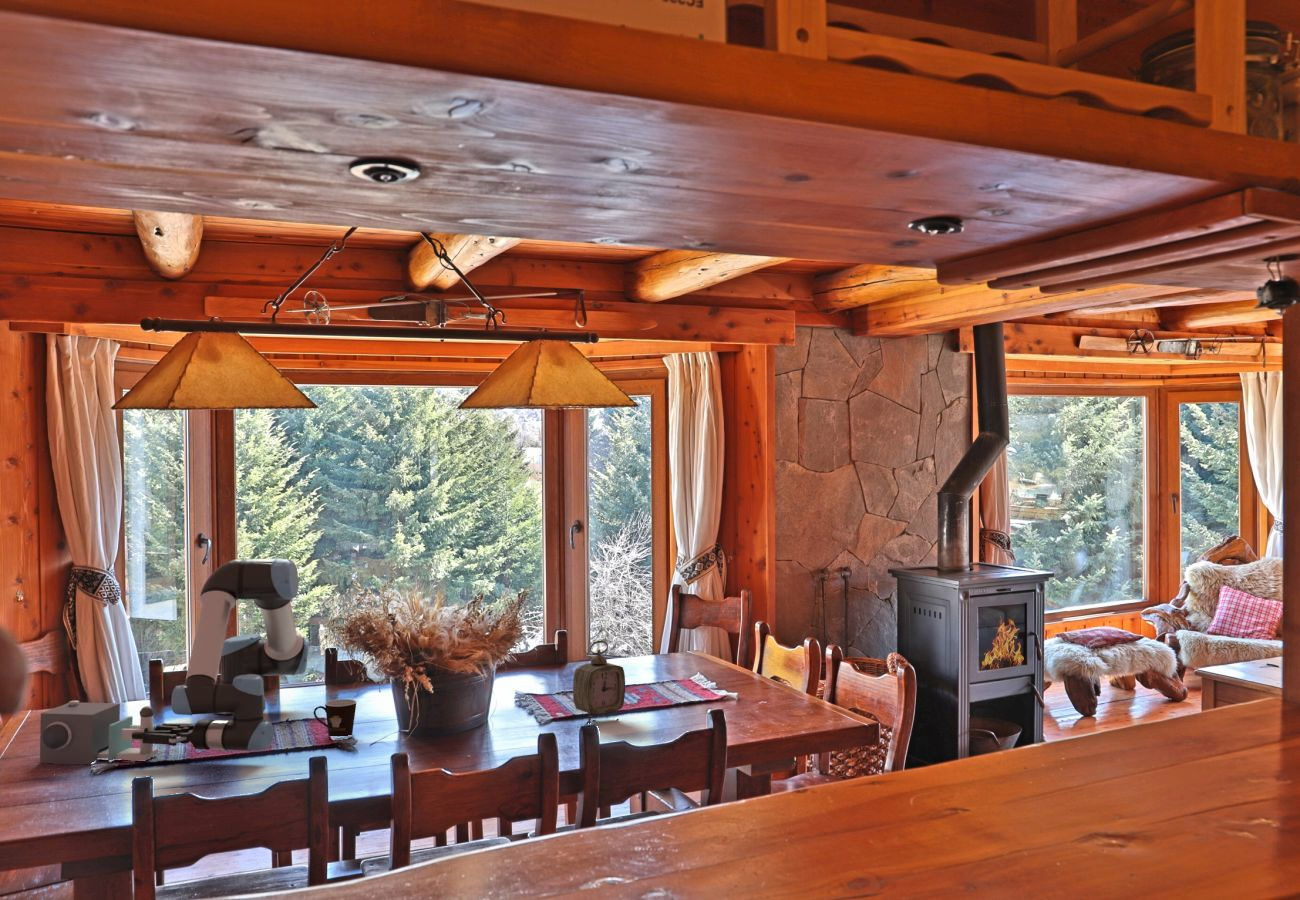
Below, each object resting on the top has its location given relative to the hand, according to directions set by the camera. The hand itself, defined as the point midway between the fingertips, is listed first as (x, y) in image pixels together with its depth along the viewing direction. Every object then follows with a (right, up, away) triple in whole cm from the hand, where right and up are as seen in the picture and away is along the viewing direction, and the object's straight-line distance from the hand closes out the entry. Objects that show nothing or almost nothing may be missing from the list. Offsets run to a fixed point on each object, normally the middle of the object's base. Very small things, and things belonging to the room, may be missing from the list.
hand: (126, 732), depth 265 cm
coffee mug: (+48, -8, +23) cm, 54 cm away
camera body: (-13, -7, +1) cm, 14 cm away
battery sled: (-2, -7, 0) cm, 7 cm away
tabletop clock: (+123, -9, +42) cm, 130 cm away
